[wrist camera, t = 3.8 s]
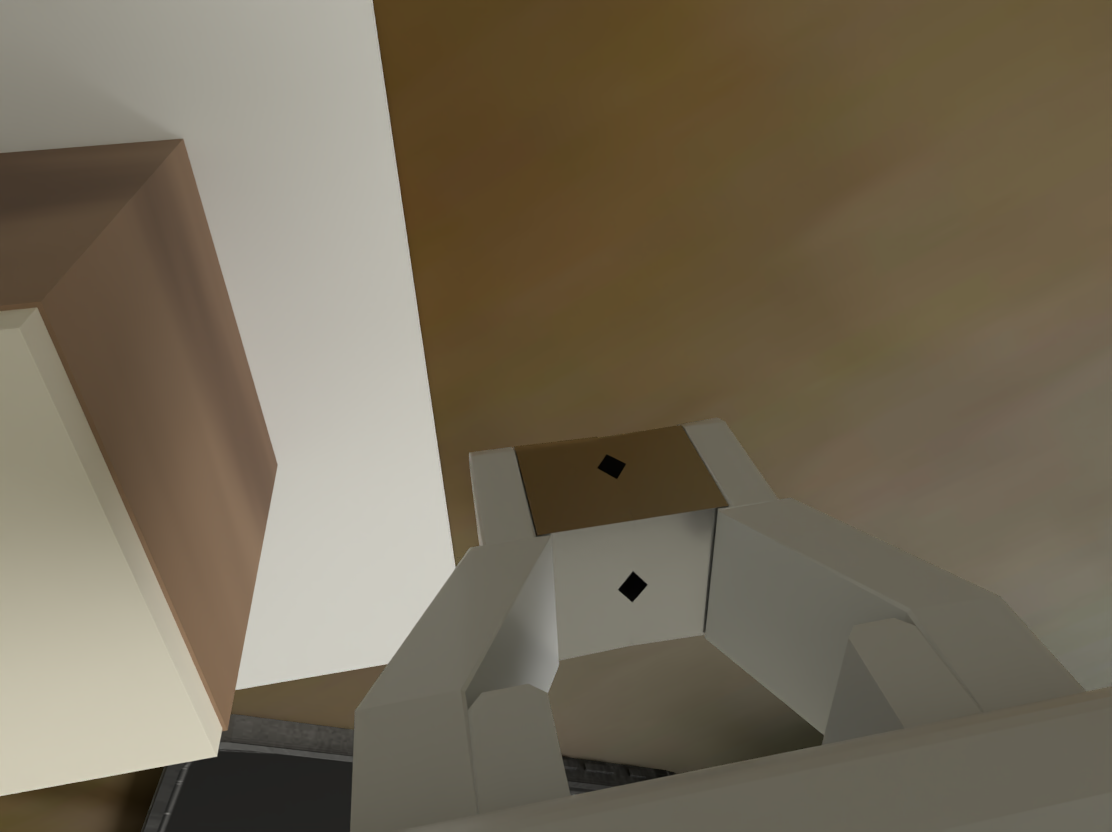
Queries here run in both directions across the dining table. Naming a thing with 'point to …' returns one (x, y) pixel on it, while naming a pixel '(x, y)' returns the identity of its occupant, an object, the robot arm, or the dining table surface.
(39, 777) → the walnut cube
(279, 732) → the phone
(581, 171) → the dining table surface
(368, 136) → the white mat
